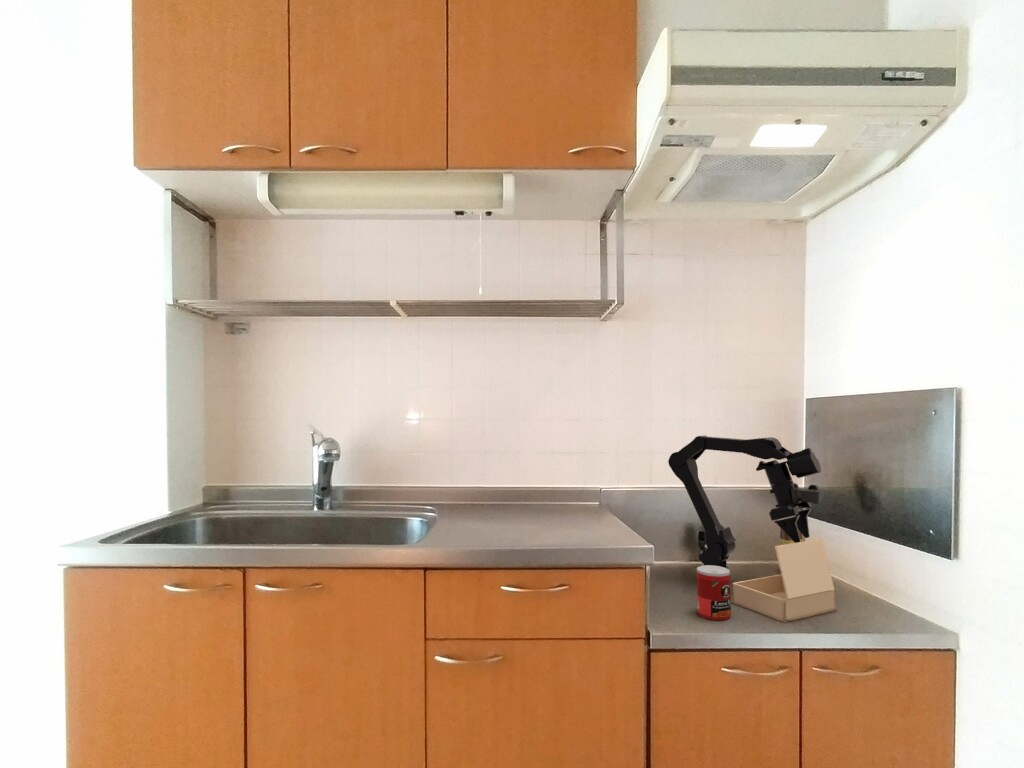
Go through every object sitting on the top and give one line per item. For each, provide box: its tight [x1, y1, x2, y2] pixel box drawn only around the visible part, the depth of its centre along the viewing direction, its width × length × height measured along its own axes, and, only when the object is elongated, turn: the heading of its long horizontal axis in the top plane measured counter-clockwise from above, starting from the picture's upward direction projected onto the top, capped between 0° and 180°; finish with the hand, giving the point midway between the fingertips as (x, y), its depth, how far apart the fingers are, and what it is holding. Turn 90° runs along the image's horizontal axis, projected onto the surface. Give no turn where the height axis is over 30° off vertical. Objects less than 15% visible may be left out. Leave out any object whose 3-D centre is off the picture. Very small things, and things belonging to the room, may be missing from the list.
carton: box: [731, 573, 837, 623], centre depth 151 cm, size 16×18×5 cm
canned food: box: [696, 565, 732, 621], centre depth 145 cm, size 8×8×11 cm
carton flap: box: [774, 538, 835, 599], centre depth 145 cm, size 12×16×1 cm
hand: (803, 540), depth 157 cm, fingers open, 9 cm apart
